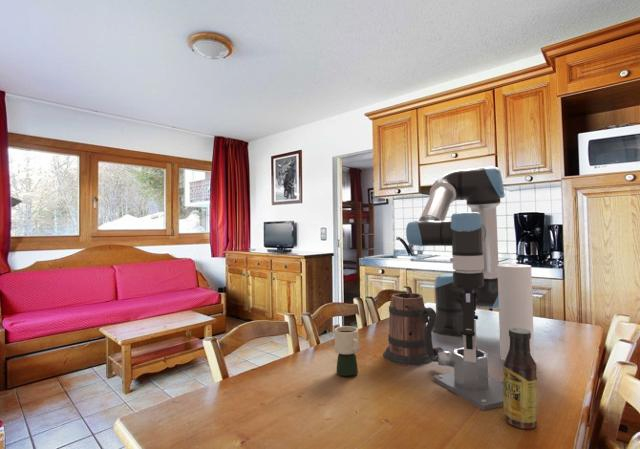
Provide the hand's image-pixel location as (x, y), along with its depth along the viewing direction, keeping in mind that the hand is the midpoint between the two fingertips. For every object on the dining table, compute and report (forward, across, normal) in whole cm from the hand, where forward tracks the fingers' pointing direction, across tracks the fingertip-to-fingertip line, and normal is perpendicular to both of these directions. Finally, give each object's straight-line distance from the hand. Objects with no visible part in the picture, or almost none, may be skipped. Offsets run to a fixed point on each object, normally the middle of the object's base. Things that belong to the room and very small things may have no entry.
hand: (470, 351), depth 92 cm
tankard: (+10, -15, -17) cm, 25 cm away
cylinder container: (+10, -26, +13) cm, 31 cm away
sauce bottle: (+9, +15, +10) cm, 20 cm away
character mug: (+9, +4, -33) cm, 35 cm away
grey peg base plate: (+9, +1, +1) cm, 9 cm away
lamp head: (+8, +1, -2) cm, 8 cm away
